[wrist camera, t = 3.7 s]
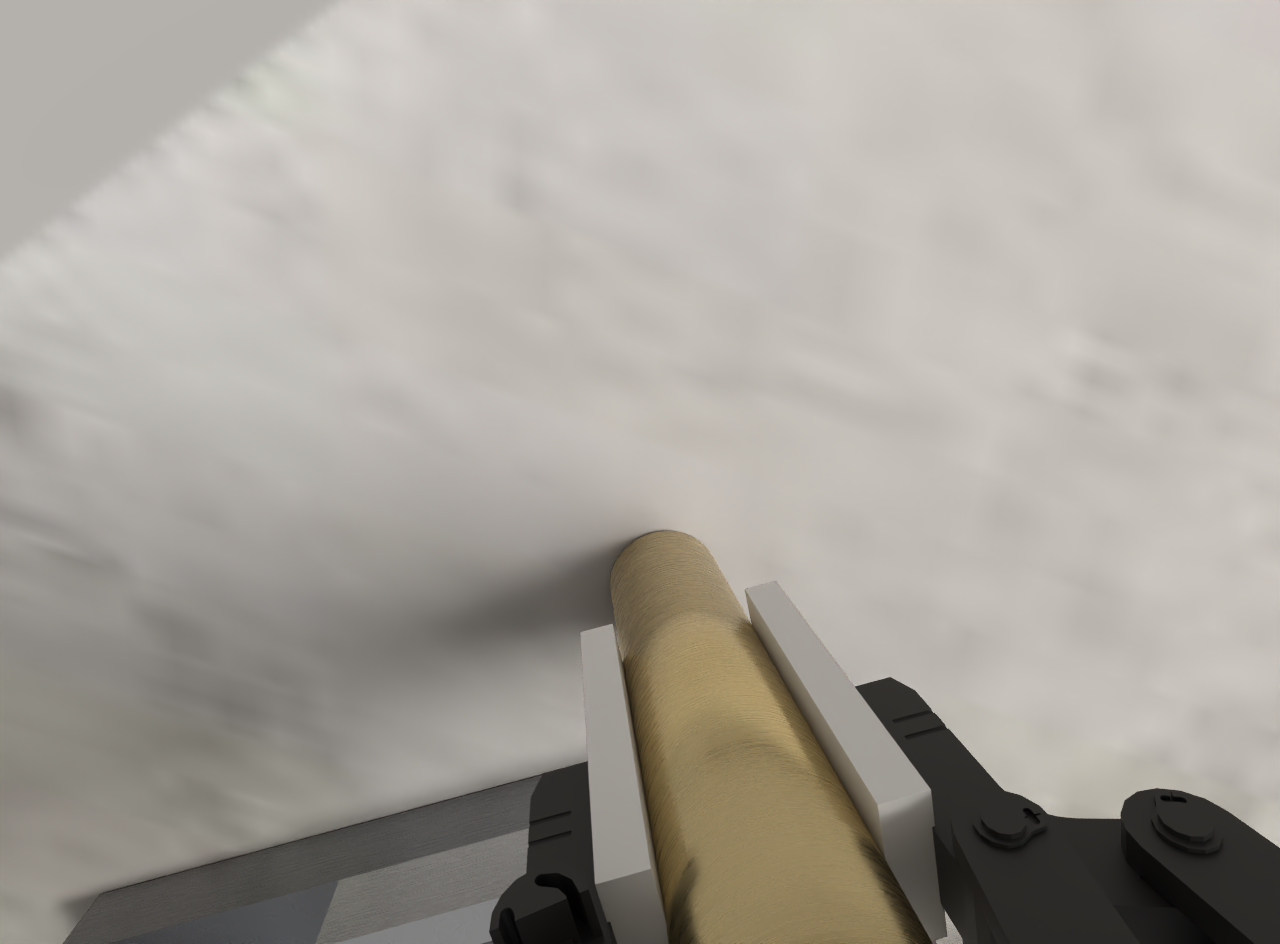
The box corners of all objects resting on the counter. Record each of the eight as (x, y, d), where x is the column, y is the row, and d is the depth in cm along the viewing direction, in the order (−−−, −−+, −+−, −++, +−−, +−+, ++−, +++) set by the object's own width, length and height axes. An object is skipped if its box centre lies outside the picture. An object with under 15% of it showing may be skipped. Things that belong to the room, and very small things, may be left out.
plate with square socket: (195, 1049, 22) (117, 1211, 18) (99, 894, 20) (-11, 1039, 16) (876, 856, 23) (938, 969, 19) (851, 691, 21) (916, 781, 17)
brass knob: (606, 668, 20) (710, 1530, 6) (568, 530, 18) (591, 1234, 5) (752, 629, 20) (1174, 1375, 6) (725, 490, 18) (1185, 1049, 5)
